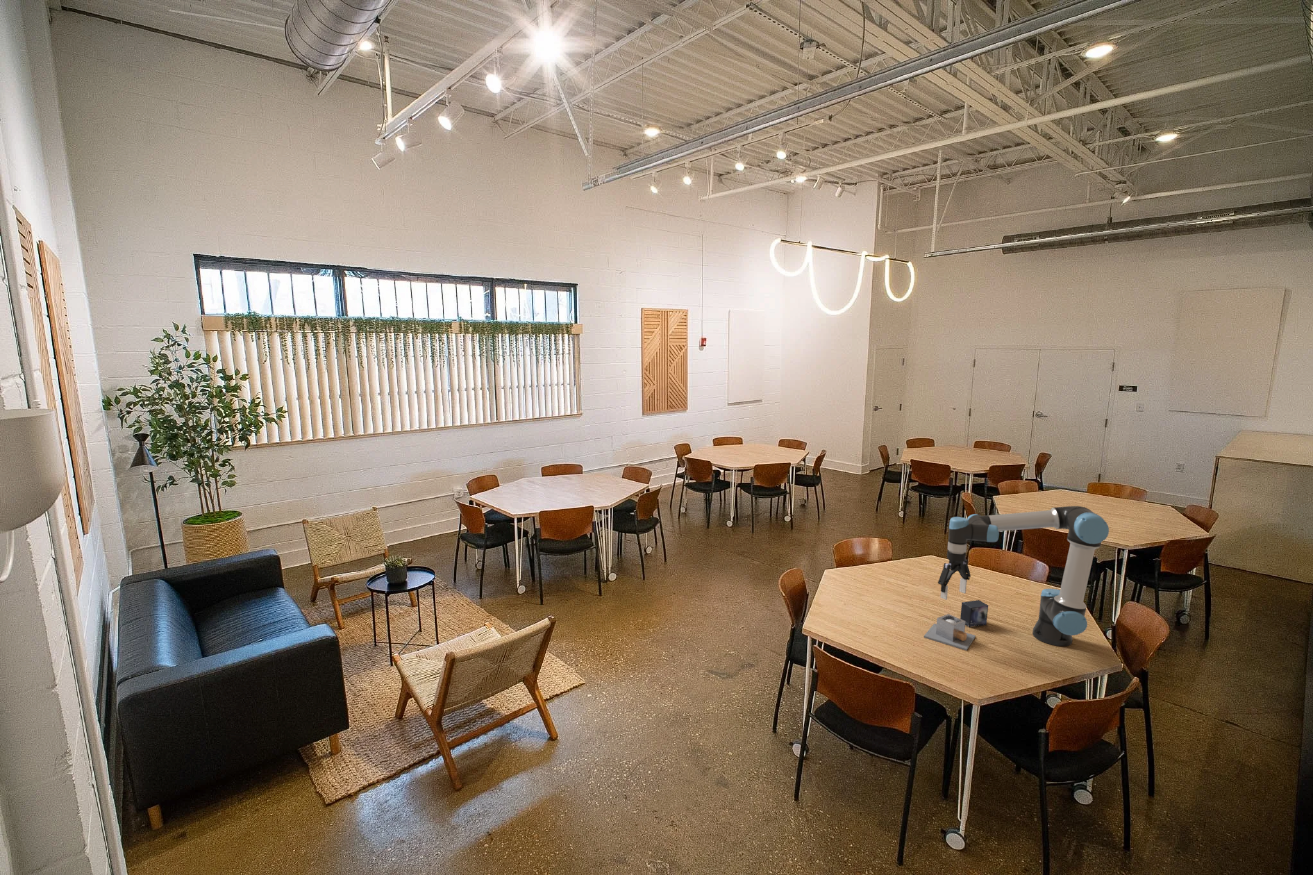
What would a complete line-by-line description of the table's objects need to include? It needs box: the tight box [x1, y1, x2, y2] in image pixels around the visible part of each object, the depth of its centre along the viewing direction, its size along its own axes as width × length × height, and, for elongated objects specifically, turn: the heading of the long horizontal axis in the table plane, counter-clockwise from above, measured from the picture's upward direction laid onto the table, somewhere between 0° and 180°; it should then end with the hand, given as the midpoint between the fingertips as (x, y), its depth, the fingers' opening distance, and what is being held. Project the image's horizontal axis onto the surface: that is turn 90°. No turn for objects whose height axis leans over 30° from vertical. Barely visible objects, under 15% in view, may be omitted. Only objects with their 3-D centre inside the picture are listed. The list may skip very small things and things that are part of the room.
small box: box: [959, 599, 989, 628], centre depth 278 cm, size 11×6×10 cm, turn 106°
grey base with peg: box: [923, 619, 976, 651], centre depth 266 cm, size 18×16×8 cm
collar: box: [936, 613, 967, 642], centre depth 264 cm, size 8×11×8 cm
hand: (953, 595), depth 263 cm, fingers open, 13 cm apart
